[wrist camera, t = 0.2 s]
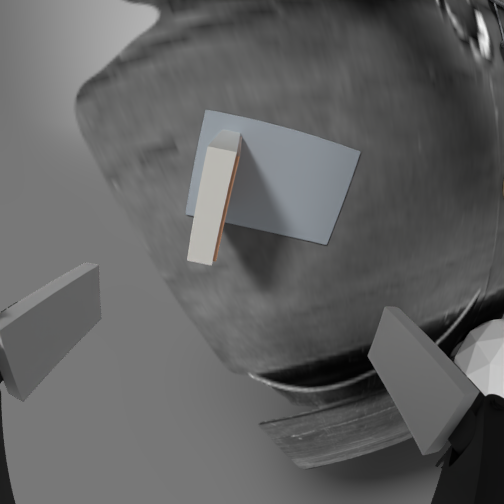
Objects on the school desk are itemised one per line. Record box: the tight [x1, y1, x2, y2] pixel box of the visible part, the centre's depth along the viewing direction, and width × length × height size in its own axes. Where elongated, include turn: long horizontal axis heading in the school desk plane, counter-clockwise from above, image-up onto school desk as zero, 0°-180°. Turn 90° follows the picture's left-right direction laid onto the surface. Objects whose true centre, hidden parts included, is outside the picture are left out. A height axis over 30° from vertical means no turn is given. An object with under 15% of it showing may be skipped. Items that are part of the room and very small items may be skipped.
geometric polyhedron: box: [454, 319, 504, 398], centre depth 44 cm, size 24×25×25 cm
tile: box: [187, 129, 242, 265], centre depth 29 cm, size 2×10×14 cm, turn 166°
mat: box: [186, 110, 360, 245], centre depth 36 cm, size 20×14×1 cm
